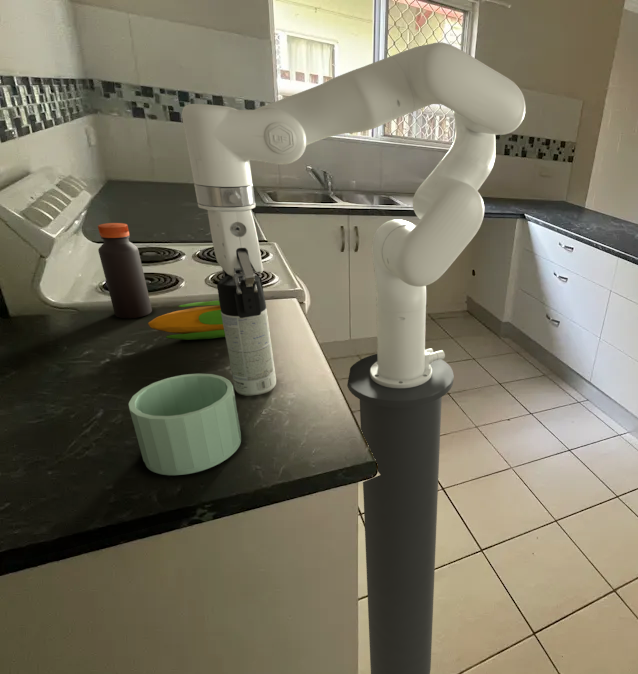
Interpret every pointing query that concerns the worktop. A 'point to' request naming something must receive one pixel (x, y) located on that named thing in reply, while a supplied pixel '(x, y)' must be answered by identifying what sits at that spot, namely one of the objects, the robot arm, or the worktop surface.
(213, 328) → the corn
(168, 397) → the cup
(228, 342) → the spray can
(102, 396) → the worktop surface
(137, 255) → the bottle
